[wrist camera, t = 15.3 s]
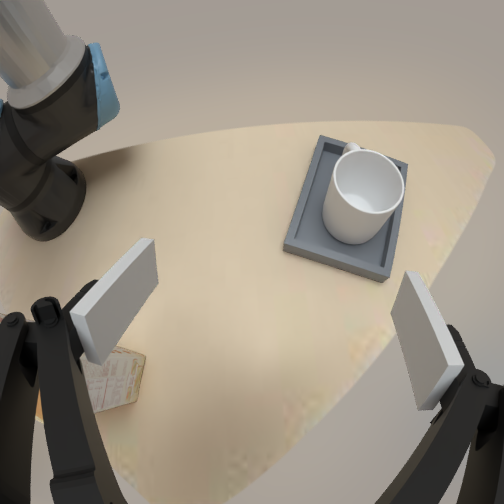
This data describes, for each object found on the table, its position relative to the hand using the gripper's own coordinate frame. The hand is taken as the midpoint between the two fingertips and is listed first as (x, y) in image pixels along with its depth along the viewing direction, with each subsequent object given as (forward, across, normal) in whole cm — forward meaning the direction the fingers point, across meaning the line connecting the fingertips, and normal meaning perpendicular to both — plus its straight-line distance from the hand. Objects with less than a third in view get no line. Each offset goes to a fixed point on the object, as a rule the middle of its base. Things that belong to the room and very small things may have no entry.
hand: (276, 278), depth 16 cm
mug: (+28, +8, -5) cm, 30 cm away
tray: (+29, +9, -5) cm, 31 cm away
